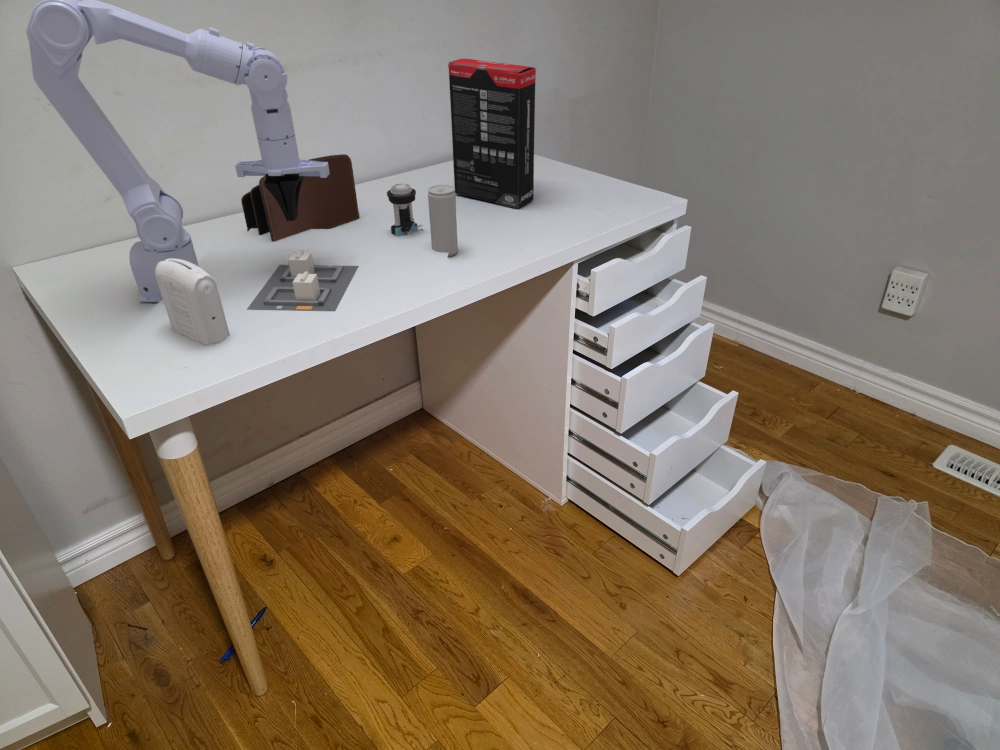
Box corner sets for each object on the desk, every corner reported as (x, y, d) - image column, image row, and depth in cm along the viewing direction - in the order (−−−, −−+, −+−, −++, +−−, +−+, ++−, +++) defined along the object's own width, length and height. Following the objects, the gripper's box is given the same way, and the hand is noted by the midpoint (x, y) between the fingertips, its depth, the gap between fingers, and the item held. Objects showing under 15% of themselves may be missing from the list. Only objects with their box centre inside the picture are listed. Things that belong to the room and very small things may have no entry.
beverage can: (427, 256, 126) (422, 192, 119) (438, 245, 130) (434, 183, 123) (452, 259, 124) (448, 195, 118) (462, 249, 128) (459, 185, 121)
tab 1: (296, 302, 109) (291, 279, 107) (302, 293, 112) (297, 270, 110) (315, 302, 109) (310, 279, 107) (320, 293, 112) (316, 271, 109)
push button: (415, 228, 137) (411, 178, 131) (430, 236, 133) (427, 185, 128) (386, 237, 133) (380, 186, 128) (401, 245, 130) (396, 194, 124)
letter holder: (360, 219, 141) (351, 149, 133) (274, 249, 130) (258, 174, 122) (332, 207, 147) (322, 139, 139) (247, 234, 136) (230, 163, 128)
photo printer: (236, 342, 102) (216, 265, 95) (211, 355, 99) (188, 277, 92) (194, 322, 107) (172, 248, 100) (169, 334, 104) (144, 259, 97)
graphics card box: (536, 200, 148) (538, 63, 133) (519, 211, 143) (519, 70, 128) (470, 187, 156) (465, 55, 140) (452, 196, 151) (445, 61, 136)
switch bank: (248, 316, 108) (245, 306, 107) (281, 270, 122) (279, 261, 121) (336, 317, 108) (334, 307, 107) (359, 272, 121) (358, 262, 120)
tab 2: (292, 279, 116) (287, 257, 114) (297, 271, 119) (293, 249, 116) (309, 279, 116) (305, 257, 114) (314, 271, 118) (310, 249, 116)
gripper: (220, 142, 105) (240, 227, 113) (314, 143, 104) (328, 228, 112) (237, 129, 111) (256, 211, 118) (327, 130, 110) (339, 212, 117)
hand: (292, 218), depth 115 cm, fingers closed
